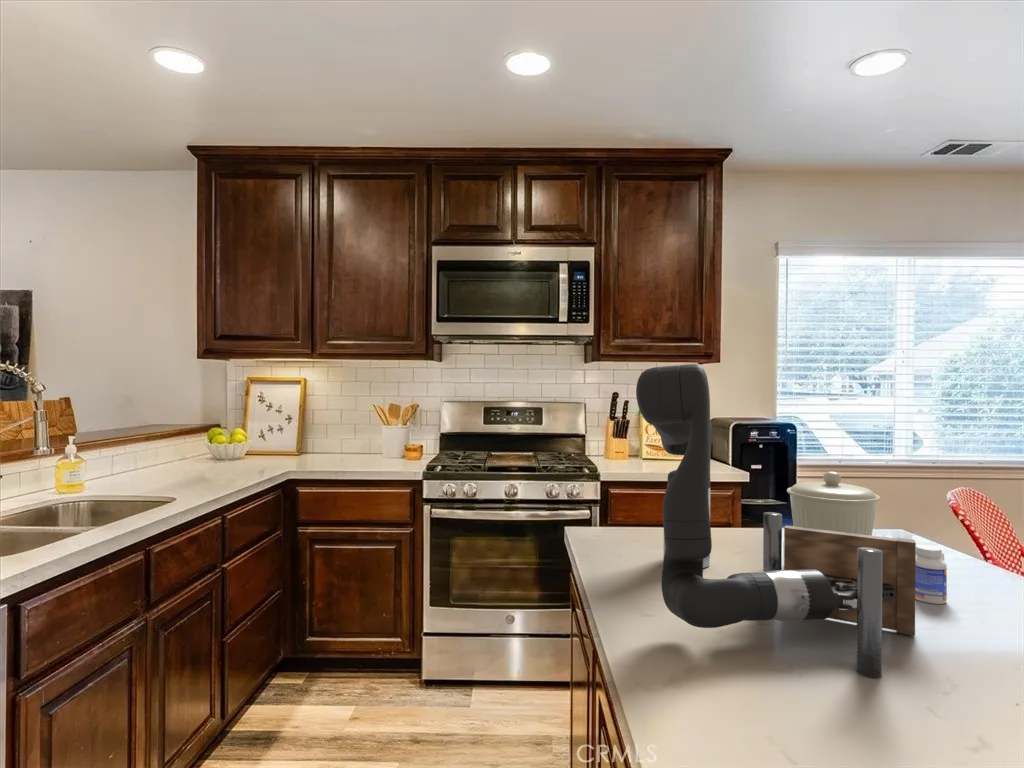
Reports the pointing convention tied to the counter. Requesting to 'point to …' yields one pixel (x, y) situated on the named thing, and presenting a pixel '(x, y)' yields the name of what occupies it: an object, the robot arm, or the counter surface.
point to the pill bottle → (930, 575)
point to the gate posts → (866, 594)
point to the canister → (833, 506)
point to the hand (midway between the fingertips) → (892, 591)
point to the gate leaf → (840, 559)
